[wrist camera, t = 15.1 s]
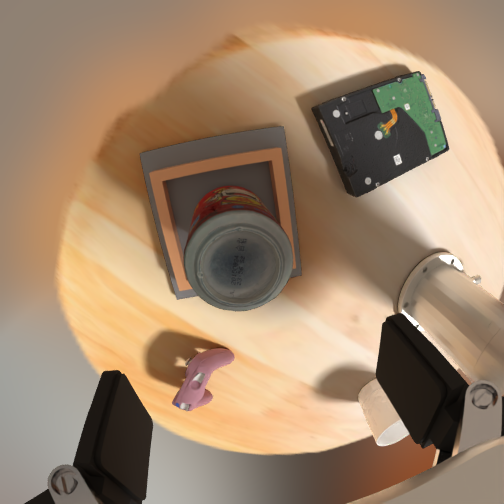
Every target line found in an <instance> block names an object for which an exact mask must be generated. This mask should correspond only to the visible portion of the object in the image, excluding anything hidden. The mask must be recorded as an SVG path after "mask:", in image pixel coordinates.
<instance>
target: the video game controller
mask: <svg viewBox="0 0 504 504" xmlns="http://www.w3.org/2000/svg"><path fill="white" fill-rule="evenodd" d="M233 360H234V354H233V353H232V352H231V351H230V350H228V349H224V348H215V349H210V350H207V351H205V352H202V353H200V352H199V353H198V354H197V355H196V356H195V357H194V358H193V359H192V360H191V357H190V358H188V359H187V360H186V363H185V365H186V366H187V365H188V368H187V370H186V373H185V376H186V379H185V381H184V383H183V385H182V387H181V389H180V390H179V391H178V393H177V394H176V396H175V398H174V400H173V402H172V404H173V405H175V406H176V407H178V408H180V409H183V410H186V411H191V410H193V409H195V408H197V407H199V406H202V405H205V404H208V403H209V402H210V401H211V400H212V398H213V396H212V394H211V393H210V392H209V391H207V390H205V386H206V384H207V382H208V380H209V378H210V376H211V373H212V372H213V371H214V370H216V369H217V368H220V367H222V366H225V365H227V364H230V363H231V362H232V361H233Z"/></svg>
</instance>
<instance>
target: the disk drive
mask: <svg viewBox="0 0 504 504" xmlns="http://www.w3.org/2000/svg"><path fill="white" fill-rule="evenodd" d="M424 79H426V77H425V75H424V74H421V72H420V71H417V72H413V73H410V74H406V75H401V76H398V77H395V78H393V79H390V80H386V81H383V82H380V83H377V84H374V85H371V86H368V87H366V88H363V89H360V90H357V91H355V92H351V93H349V94H346V95H344V96H341V97H338V98H335V99H332V100H329V101H327V102H324V103H322V104H320V105H318V106H315V107H313V108H312V111H313V113H314V115H315V117H316V120H317V122H318V124H319V126H320V129H321V131H322V133H323V135H324V138H325V140H326V142H327V145H328V147H329V149H330V152H331V154H332V156H333V159H334V161H335V163H336V166H337V169H338V171H339V174H340V176H341V178H342V180H343V183H344V185H345V189H346V191H347V193H348V194H350V195H352V196H354V197H359V196H361V195H363V194H365V193H368V192H370V191H372V190H374V189H376V188H377V187H379V186H381V185H383V184H385V183H387V182H388V181H390V180H392V179H394V178H396V177H398V176H400V175H402V174H404V173H406V172H408V171H409V170H412V169H413V168H416V167H417V166H420V165H421V164H424V163H426V162H427V161H429V160H431V159H434V158H435V157H438V156H439V155H440V154H443V153H445V152H446V151H448V150H449V145H448V142H447V138H446V135H445V131H444V128H443V125H442V122H441V121H440V120H441V117H440V114H439V111H438V109H435V108H434V107H436V106H435V104H434V101H433V99H431V97H432V95H431V93H430V90H429V87H428V85H427V82H426V81H424Z"/></svg>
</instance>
